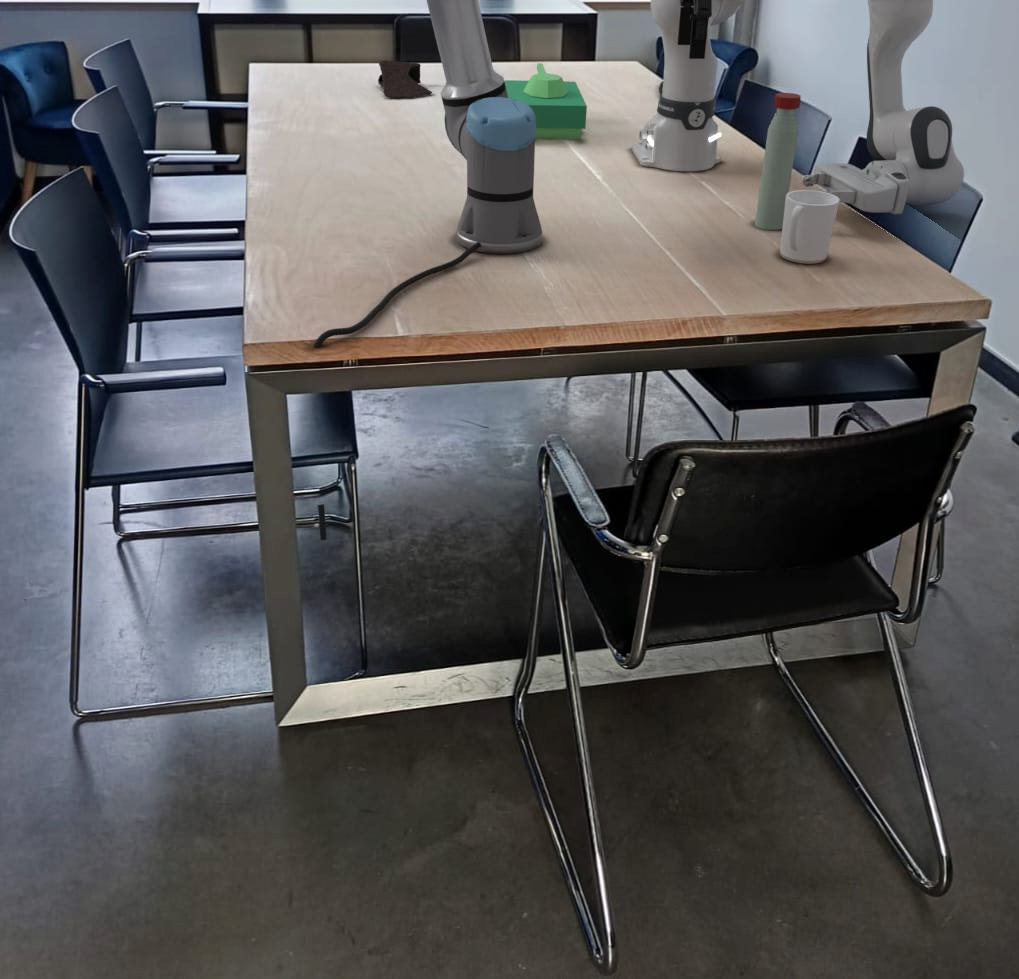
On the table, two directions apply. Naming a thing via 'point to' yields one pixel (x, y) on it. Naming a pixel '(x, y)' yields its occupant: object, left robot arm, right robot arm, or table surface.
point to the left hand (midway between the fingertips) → (690, 51)
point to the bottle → (777, 169)
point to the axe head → (401, 79)
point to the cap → (787, 101)
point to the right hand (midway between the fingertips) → (815, 188)
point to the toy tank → (551, 105)
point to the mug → (808, 225)
